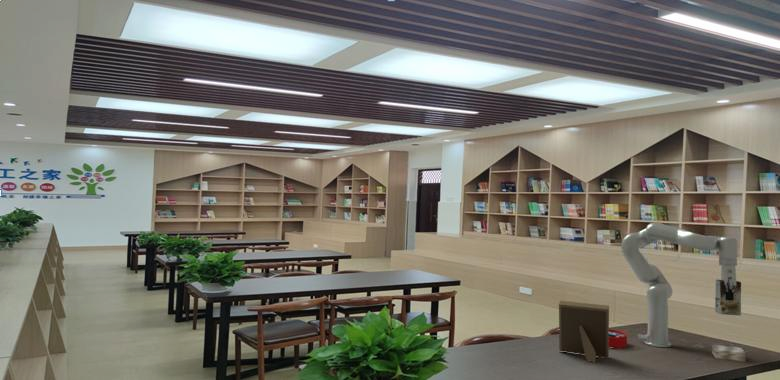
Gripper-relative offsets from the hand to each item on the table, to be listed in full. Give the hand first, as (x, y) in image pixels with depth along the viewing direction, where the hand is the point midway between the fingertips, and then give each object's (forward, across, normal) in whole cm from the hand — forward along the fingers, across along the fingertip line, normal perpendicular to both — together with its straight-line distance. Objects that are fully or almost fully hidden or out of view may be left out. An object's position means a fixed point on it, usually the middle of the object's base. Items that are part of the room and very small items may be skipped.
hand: (728, 298), depth 255 cm
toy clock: (+28, -2, +55) cm, 61 cm away
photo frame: (+28, -36, +64) cm, 79 cm away
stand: (+28, 0, 0) cm, 28 cm away
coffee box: (+7, 0, 0) cm, 7 cm away
